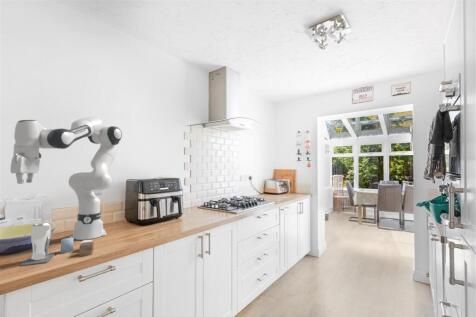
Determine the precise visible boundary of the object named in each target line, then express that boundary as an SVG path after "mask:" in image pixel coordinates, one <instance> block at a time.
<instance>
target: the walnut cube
mask: <svg viewBox="0 0 476 317" xmlns="http://www.w3.org/2000/svg"><path fill="white" fill-rule="evenodd" d="M81 242H82V241H81ZM81 242H80V243H81ZM94 242H95V241H93V240H92V242H82V243H81V244H80V243H79V250H80V251H79V254H78V256H79V257H82V256H91V255H93V253H94V251H95V250H94V248H95V247H94V244H95V243H94Z"/></svg>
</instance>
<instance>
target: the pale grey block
mask: <svg viewBox="0 0 476 317" xmlns="http://www.w3.org/2000/svg"><path fill="white" fill-rule="evenodd" d="M92 241H93V239H85V240H81V242H80V243H79V245H80V244H81V243H82V242H92ZM79 251H80V249H79Z"/></svg>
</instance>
